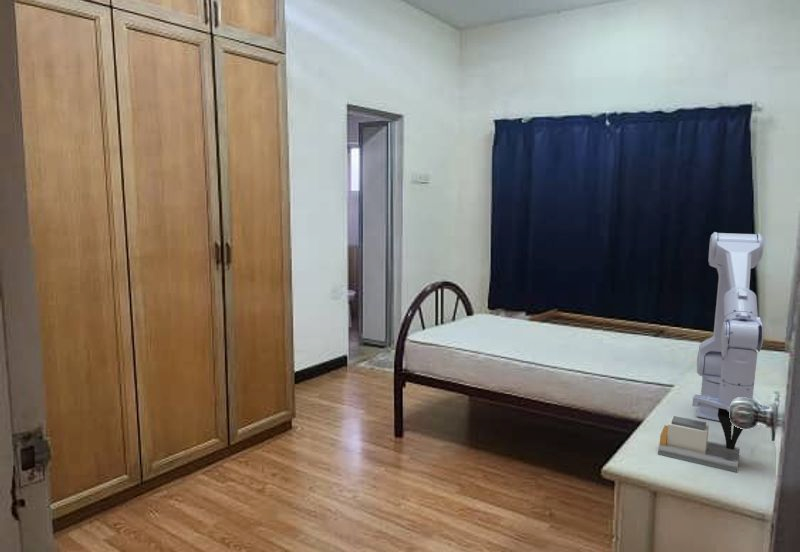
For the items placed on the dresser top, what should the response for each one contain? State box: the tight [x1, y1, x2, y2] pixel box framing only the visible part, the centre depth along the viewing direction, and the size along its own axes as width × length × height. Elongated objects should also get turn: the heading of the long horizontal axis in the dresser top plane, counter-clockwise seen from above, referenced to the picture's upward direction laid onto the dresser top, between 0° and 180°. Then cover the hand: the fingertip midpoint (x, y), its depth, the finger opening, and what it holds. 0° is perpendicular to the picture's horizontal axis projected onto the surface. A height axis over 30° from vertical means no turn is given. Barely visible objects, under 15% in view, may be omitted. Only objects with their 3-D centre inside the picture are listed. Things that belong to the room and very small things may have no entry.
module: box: [667, 415, 710, 454], centre depth 119 cm, size 4×7×6 cm, turn 58°
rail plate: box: [657, 425, 741, 473], centre depth 119 cm, size 9×14×4 cm, turn 58°
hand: (730, 447), depth 116 cm, fingers closed
